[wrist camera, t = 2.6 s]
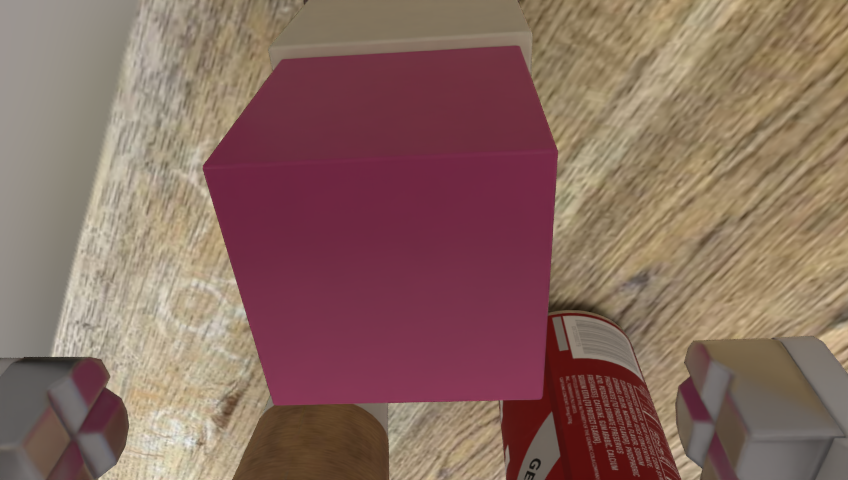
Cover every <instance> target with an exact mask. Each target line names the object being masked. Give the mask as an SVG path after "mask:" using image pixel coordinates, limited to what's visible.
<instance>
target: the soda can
mask: <svg viewBox="0 0 848 480" xmlns="http://www.w3.org/2000/svg"><path fill="white" fill-rule="evenodd" d="M499 409H500V419H501V429H502V440H503V450H504V461H505V471H506V480H681V478H680V475H679V472H678V470H677V467H676V464H675V461H674V459H673V456H672V453H671V451H670V448H669V445H668V442H667V440H666V437H665V434H664V432H663V429H662V426H661V423H660V421H659V418H658V415H657V413H656V410H655V407H654V404H653V402H652V399H651V396H650V394H649V391H648V388H647V385H646V383H645V380H644V377H643V375H642V372H641V369H640V366H639V364H638V361H637V358H636V356H635V353H634V350H633V347H632V345H631V342H630V340H629V338H628V336H627V335H626V333H625V332H624V331H623V330H622V329H621V328H620V327H619V326H618V325H617V324H615V323H614V322H613V321H611V320H609V319H608V318H605V317H603V316H601V315H598V314H595V313H591V312H586V311H578V310H562V311H554V312H549V313H548V319H547V335H546V351H545V367H544V383H543V396H542V399H539V400H499Z"/></svg>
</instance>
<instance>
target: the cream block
mask: <svg viewBox="0 0 848 480" xmlns="http://www.w3.org/2000/svg"><path fill="white" fill-rule="evenodd" d="M532 37H533V34H532V32H531V29H530V27H529V25H528V23H527V20H526V18H525V16H524V14H523V12H522V9H521V7H520V5H519V3H518V0H308V1H307V3H306V4H305V5H304V6H303V7H302V8H301V10H300V11H299V12H298V13H297V14H296V16H295V17H294V18H293V19H292V20H291V21H290V23H289V24H288V25H287V26H286V27H285V29H284V30H283V31H282V32H281V33H280V34H279V36H278V37H277V38H276V39H275V40H274V42H273V43H272V44H271V45H270V46H269V49H268V51H269V56H270V61H271V65H272V70H274V69H275V68H276V66H277V65H278V64H279V62H280V61H281V60H282V59H295V58H312V57H329V56H346V55H364V54H381V53H398V52H415V51H433V50H450V49H467V48H484V47H502V46H520V48H521V51H522V53H523V56H524V59H525V62H526V64H527V67H528V70H529V73H530V75H531V68H532Z"/></svg>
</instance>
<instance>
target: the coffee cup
mask: <svg viewBox="0 0 848 480" xmlns="http://www.w3.org/2000/svg"><path fill="white" fill-rule="evenodd" d="M232 480H389V443H388V403H363V404H318V405H274V404H273V401H272V398H271V395H270V397H269V400H268V402H267V404H266V407H265V409H264V412H263V414H262V416H261V418H260V419H259V421H258V424H257V426H256V428H255V430H254V433H253V435H252V437H251V439H250V442H249V444H248V446H247V448H246V450H245V453H244V455H243V457H242V459H241V462H240V464H239V466H238V468H237V470H236V473H235V475H234V477H233V479H232Z"/></svg>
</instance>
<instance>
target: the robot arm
mask: <svg viewBox="0 0 848 480" xmlns="http://www.w3.org/2000/svg"><path fill="white" fill-rule="evenodd" d="M684 363H685V365H686V367H687V370H688V372H689V374H690V377H689V378H688V379H686V380H685V381H684V382H683V383H682V384H681V385H679V387H678V392H677V398H676V403H675V407H676V424H677V428H678V433H679V437H680V440H681V443H682V446H683V448H684V451H685V454H686V456H687V457H688V458H690V459H691V460H692V461H693V462H695V463H696V464H697V465H698V466H700V467H701V468H702V469H703V470H702V473H701V477H700V480H848V373H847V372H846V371H845V370H844V368H843V367H842V366H841V364H840V363H839V362H838V360H837V359H836V358H835V357H834V355H833V354H832V353H831V351H830V350H829V349H828V348H827V346H826V345H825V344H824V343H823V342H822V341H821V340H819V339H818V338H816V337H814V336H799V337H774V338H771V339H769V338H755V339H727V340H698V341H693V342H692V343H691V345H690V346H689V347H688V349H687V353H686V357H685V361H684ZM109 379H110V375H109V373H108V371H107V369H106V367H105V366H104V364H103V362H102V360H101V359H96V358H92V357H24V358H0V480H98V478H99V477H101V476H102V475H103V474H104V473H106V472H107V471H108V470H109V469H111V468H112V467H113V466H115V465H116V464H117V462H118V460H119V458H120V456H121V454H122V452H123V450H124V448H125V445H126V440H127V434H128V429H129V421H128V414H127V410H126V407H125V405H124V403H123V401H122V399H121V398H120V397H119V396H117V395H116V394H114V393H113V392H111V391H110V390H108V389H107V388H106V385H107V383H108V381H109Z"/></svg>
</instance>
